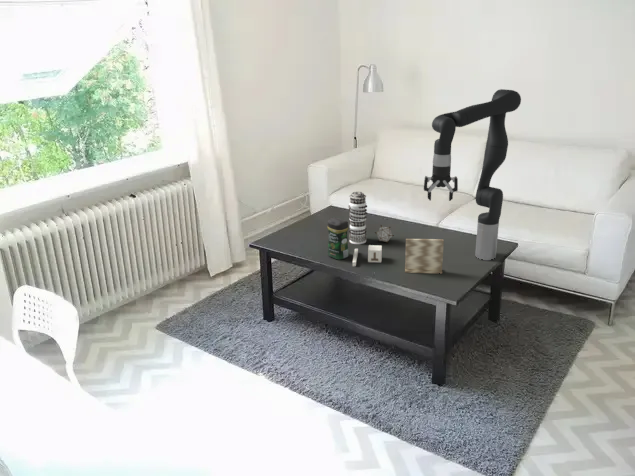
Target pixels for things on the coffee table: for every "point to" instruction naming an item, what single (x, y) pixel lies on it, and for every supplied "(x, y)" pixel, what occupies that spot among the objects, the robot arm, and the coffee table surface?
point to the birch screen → (424, 255)
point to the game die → (384, 234)
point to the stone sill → (355, 257)
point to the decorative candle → (357, 218)
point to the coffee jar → (337, 238)
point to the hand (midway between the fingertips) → (439, 200)
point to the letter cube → (374, 253)
